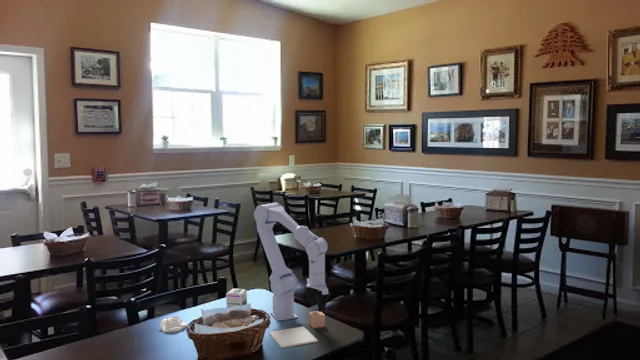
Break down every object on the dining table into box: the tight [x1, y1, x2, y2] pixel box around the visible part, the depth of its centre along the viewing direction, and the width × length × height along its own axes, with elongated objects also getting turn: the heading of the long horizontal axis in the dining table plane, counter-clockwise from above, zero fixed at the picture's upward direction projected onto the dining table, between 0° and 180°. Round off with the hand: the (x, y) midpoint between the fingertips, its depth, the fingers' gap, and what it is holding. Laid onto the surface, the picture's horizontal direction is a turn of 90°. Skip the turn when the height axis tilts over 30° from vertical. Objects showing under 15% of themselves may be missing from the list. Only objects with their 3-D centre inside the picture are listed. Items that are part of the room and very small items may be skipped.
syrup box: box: [225, 288, 248, 309], centre depth 181 cm, size 6×6×14 cm
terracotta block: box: [308, 310, 326, 329], centre depth 187 cm, size 4×4×4 cm
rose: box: [159, 315, 189, 333], centre depth 184 cm, size 10×4×10 cm
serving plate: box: [268, 325, 319, 349], centre depth 176 cm, size 13×13×1 cm
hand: (317, 308), depth 186 cm, fingers open, 7 cm apart
